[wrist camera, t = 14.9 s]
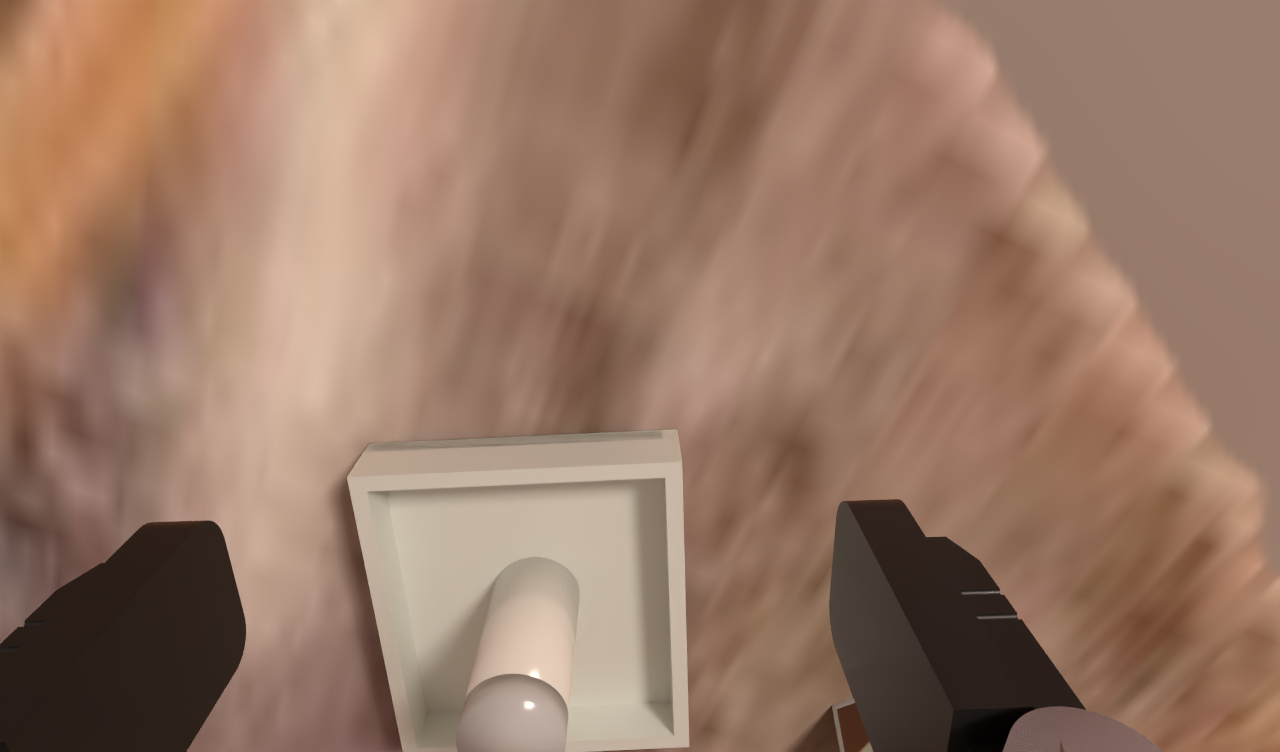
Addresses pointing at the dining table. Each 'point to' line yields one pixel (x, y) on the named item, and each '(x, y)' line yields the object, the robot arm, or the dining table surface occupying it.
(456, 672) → the tray
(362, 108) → the dining table surface
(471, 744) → the salt shaker
